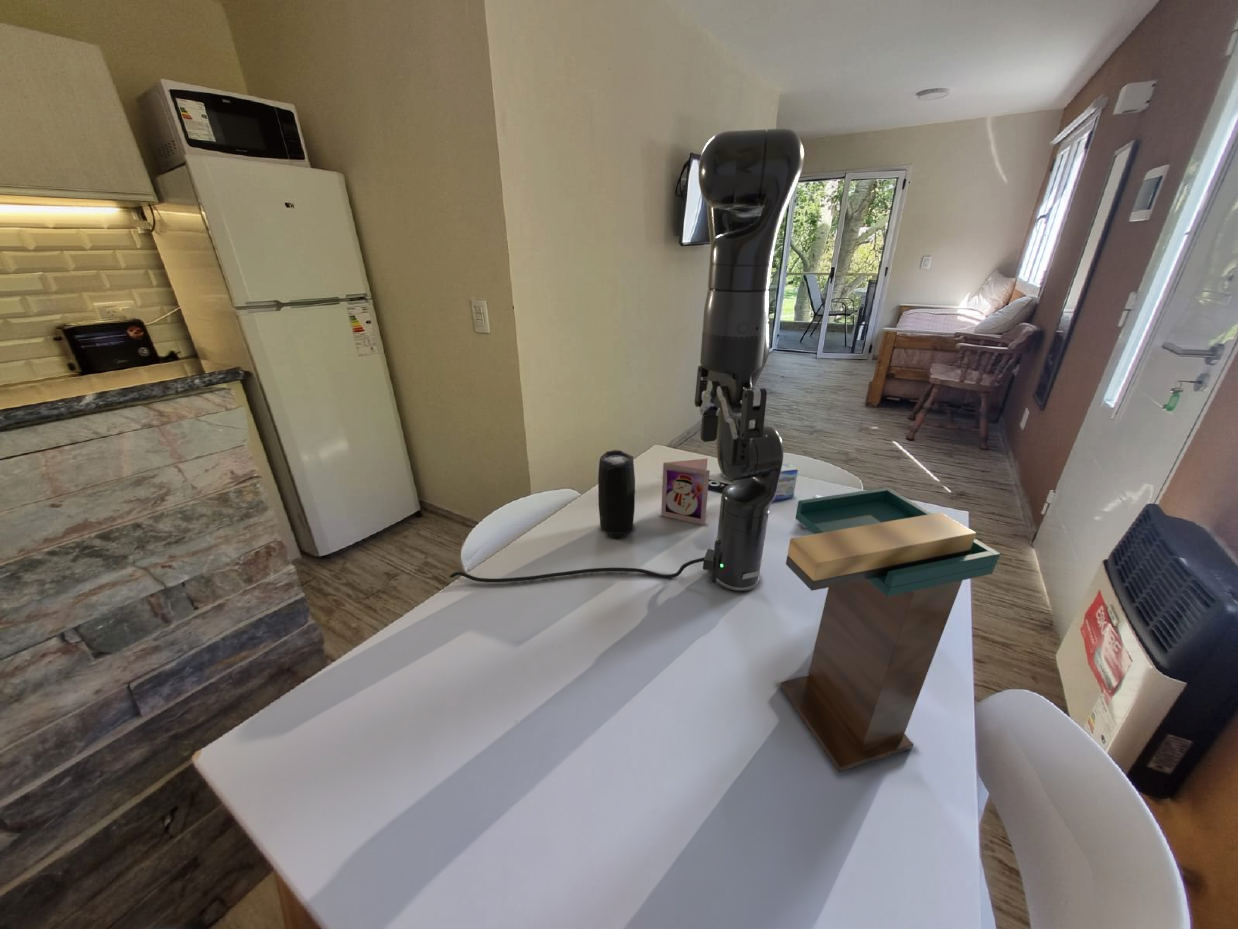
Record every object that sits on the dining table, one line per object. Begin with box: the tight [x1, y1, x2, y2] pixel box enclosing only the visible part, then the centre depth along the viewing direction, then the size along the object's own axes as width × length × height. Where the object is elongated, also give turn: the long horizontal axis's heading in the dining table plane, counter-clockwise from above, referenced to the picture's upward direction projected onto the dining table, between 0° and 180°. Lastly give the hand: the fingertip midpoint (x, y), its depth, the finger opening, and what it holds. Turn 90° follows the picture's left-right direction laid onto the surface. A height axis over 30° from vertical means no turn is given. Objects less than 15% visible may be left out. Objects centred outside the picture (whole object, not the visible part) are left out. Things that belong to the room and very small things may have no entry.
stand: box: [779, 579, 964, 773], centre depth 65 cm, size 12×14×31 cm
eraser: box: [785, 512, 977, 592], centre depth 52 cm, size 20×5×3 cm, turn 106°
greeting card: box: [660, 458, 711, 526], centre depth 120 cm, size 11×7×15 cm, turn 67°
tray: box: [795, 486, 1001, 597], centre depth 57 cm, size 14×16×3 cm
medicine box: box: [773, 463, 799, 501], centre depth 131 cm, size 8×4×9 cm, turn 105°
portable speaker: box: [597, 449, 636, 539], centre depth 113 cm, size 9×9×20 cm
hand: (722, 451), depth 65 cm, fingers open, 8 cm apart
